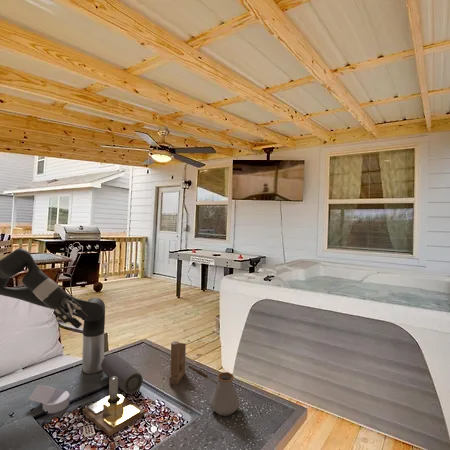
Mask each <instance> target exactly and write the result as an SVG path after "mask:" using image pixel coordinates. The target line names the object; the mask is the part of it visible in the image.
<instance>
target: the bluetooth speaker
mask: <svg viewBox="0 0 450 450" xmlns="http://www.w3.org/2000/svg"><path fill="white" fill-rule="evenodd" d="M101 368H102V370H101V371H102V372H103V373H104V374H105V376H106V377H107V378H108V379H110V378H111V377H113V376H116V377H118V389H120V390H121V391H122V392H124V393H125V394H128V395H131V394H135V393H136V392H138V391H139V390H140V389H141V387H142V384H143V381H144V379H143V376H142V374H141V373H140V372H139V370H138V369H136V368H135V367H134V366H133V365H131V364H130V363H129V362H128V361H126V360H125V359H124V358H123V357H121V356H119V355H117V354H116V353H110V354H107V355H106V356H104V359H103V361H102V364H101Z"/></svg>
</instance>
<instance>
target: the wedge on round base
mask: <svg viewBox="0 0 450 450" xmlns="http://www.w3.org/2000/svg"><path fill="white" fill-rule="evenodd" d="M28 400H29V401H31V402H32V401H33V402H37V403H41V404H42V410H43V409H44V410H47V411H48V413H47V414H56V413H58V412H59V413H60V412H62V411H63V410H65V409H66V408H68V406H69V404H70V392H69V391H67V390H64V389H60V388H55V387H51V386H48V385H42V384H38V385H37V386H36V387H35V389H34V391H33V393H32V394H31V395H30V397H29V398H28Z"/></svg>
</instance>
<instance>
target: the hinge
mask: <svg viewBox="0 0 450 450" xmlns="http://www.w3.org/2000/svg"><path fill="white" fill-rule="evenodd" d="M124 398H125V397H124V396H123V394H119V393H118V402H117V403H115V404H109V395H108V396H105V397H104V398H101V399H100V400H98V401H95V402H94V403H91V404H89V405H88V406H86V408H88V409H89V410H90V411H92V412H93V413H94V414H95V415H97V414H99V413H101V412H102V411H103V414H104V415H106V416H108V417H107V418H105V419H104V422H105V423H107V424H108V425H109V426H110V427H111V428H113V429H114V428H115V427H117V426H119V425H120V424H122V423H124V422H125V421H127V420H129V419H130V418H132V417H134V416H135V415H137V414H139V413H140V411H139V410H138V409H136V408H135V407H134V406H132V405H131V404H130V405H128V406H127V407H125V408H124Z"/></svg>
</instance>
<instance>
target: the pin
mask: <svg viewBox="0 0 450 450" xmlns="http://www.w3.org/2000/svg"><path fill="white" fill-rule="evenodd" d="M108 379H109V378H108ZM108 382H109V384H108V390H109V391H108V396H109V404H115V403H117V402H118V394H119V387H118V377H116V376H113V377H111V378H110V379H109V381H108Z"/></svg>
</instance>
